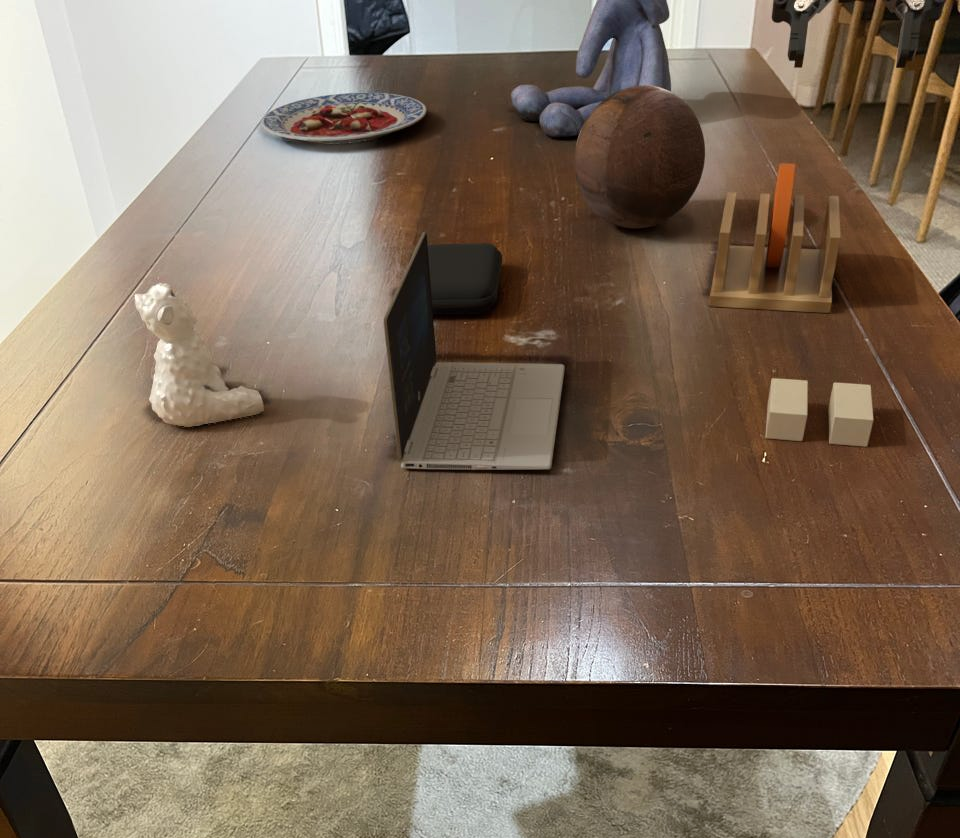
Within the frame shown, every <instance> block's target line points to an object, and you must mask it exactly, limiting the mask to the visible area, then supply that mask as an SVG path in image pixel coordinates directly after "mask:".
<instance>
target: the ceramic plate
mask: <svg viewBox="0 0 960 838" xmlns="http://www.w3.org/2000/svg"><path fill="white" fill-rule="evenodd" d="M426 113H427V107H426V105H425V104H424V103H423V102H421V101H419V100H418V99H415V98H413V97H410V96H405V95H400V94H396V93H395V94H394V93H387V92H347V93H346V92H345V93H336V94H327V95H320V96H313V97H310V98H305V99H300V100H296V101H292V102H289V103H287V104H283V105H281V106H278V107H276V108H274V109H272V110H270V111H269V112H267V113H266V114H265V115H264V116H263V118H262V120H261V125H262V127H263V130H265V131H266V132H267V133H270V134H272V135H275V136H278V137H281V138H285V139H292V140H299V141H303V142H306V141H308V142H307V143H312V142H314V144H319V143H347V144H350V143H349V142H355V143H359V142H358V141H362V142H365V141H364V140H368V141H370V140H369V139H372V140H375V139H374V138H376V139H379V138H382V137H381V136H383V137H384V135H385V136H388V135H389V134H391V133H393V132H397V131H400V130H403V129H406V128H408V127H411V126H413V125H415V124H416V123H418V122H419V121H421V120H422V119H423V118H424V117H425V116H426ZM378 137H379V138H378Z"/></svg>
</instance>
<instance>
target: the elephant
mask: <svg viewBox="0 0 960 838" xmlns="http://www.w3.org/2000/svg"><path fill="white" fill-rule="evenodd" d="M669 19H670V8H669V4H668V0H596V3H595V5H594V6H593V9H592V12H591V15H590V17H589V21H588V22H587V25H586V28H585V31H584V33H583V37H582V40H581V42H580V45H579V47H578V50H577V54H576V57H575V59H576V60H575V74H576V76H577V77H579V78H583V79H586V78H589V77H590V76H591V75H592V73H593V72H594V70H595V68H596V65H597V63H598V60H599V58H600V55H601V54H602V51H603V49H604V47H605V46H606V44H607V43H608V42H609V41H610V40H611V43H610V45H609V46H610V47H609V50H608V54H607V57H606V60H605V62H604V66H603V67H602V69H601V72H600V75H599V76H598V78H597V80H596V82H595V84H594V85H593V87H590V86H585V85H575V86H565V87H564V86H563V87H559V88H555V89H552V90H549V91H543V90H542V89H540V88H539V87H538V86H536V85H534V84H520V85H518V86H517V87H515V88H513V90H512V91H511V94H510V99H511V100H510V101H511V106H512V109H513V110H514V113H516V114H517V117H519V118H520V119H521V120H523V121H525V122H533V123H535V122H539V126H540V128H541V130H542V132H543V134H544V135H546V136H547V137H549V138H555V139H558V138H559V139H560V138H574V137H579V134H580V131H581V129H582V127H583V125H584V123H585V121H586V120H587V118H588V117H589V115H590V114H591V113H592V111H593V110H594V109H595V108H596V107H597V106H598V105H599V104H600V103H601V102H602V101H603V100H605V99H606V98H607V97H609V96H610V95H612V94H614V93H615V92H618V91H620V90H622V89H625V88H628V87H633V86H641V85H648V86H656V87H660V88H663V89H666V90H668V91H670V92H672V78H671V72H670V62H669V55H668V51H667V47H666V44H665V39H664V35H663V31H662V28H661V24H664V23H665V22H667V21H668V20H669Z"/></svg>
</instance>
